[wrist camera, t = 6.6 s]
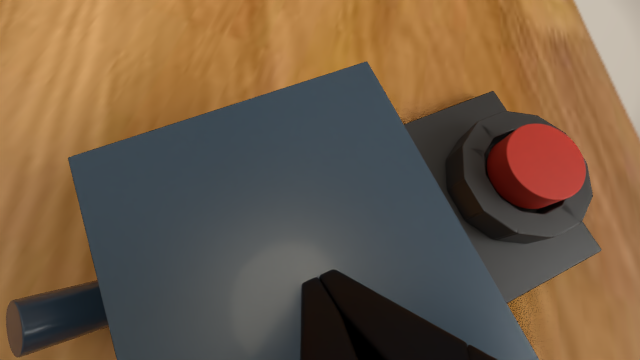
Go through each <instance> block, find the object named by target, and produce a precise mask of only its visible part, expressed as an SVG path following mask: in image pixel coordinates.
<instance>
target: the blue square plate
mask: <svg viewBox="0 0 640 360" xmlns="http://www.w3.org/2000/svg"><path fill="white" fill-rule="evenodd" d="M68 160H69V164H70V168H71V173H72V177H73V181H74V185H75V189H76V193H77V197H78V201H79V205H80V210H81V214H82V218H83V222H84V226H85V230H86V234H87V238H88V243H89V247H90V251H91V255H92V259H93V263H94V267H95V271H96V275H97V280H98V284H99V288H100V292H101V296H102V300H103V304H104V308H105V313H106V317H107V321H108V325H109V329H110V333H111V337H112V341H113V345H114V350H115V354H116V358H117V360H300V339H301V287H302V284H303V283H304V282H306V281H308V280H310V279H312V278H314V277H318V278H319V276H320V275H321V274H323V273H325V272H328V271H330V270H332V269H336V270H338V271H339V272H341V273H343V274H345V275H347V276H348V277H350V278H352V279H354V280H356V281H357V282H359V283H361V284H363V285H365V286H366V287H368V288H370V289H372V290H374V291H375V292H377V293H379V294H381V295H382V296H384V297H386V298H388V299H390V300H391V301H393V302H395V303H397V304H399V305H400V306H402V307H404V308H406V309H408V310H409V311H411V312H413V313H415V314H417V315H418V316H420V317H422V318H424V319H425V320H427V321H429V322H431V323H433V324H434V325H436V326H438V327H440V328H442V329H443V330H445V331H447V332H449V333H451V334H452V335H454V336H456V337H458V338H460V339H461V340H463V341H465V342H466V343H467V347H468V345H472V346H474V347H476V348H478V349H479V350H481V351H483V352H485V353H487V354H488V355H490V356H492V357H494V358H496V359H498V360H539V359H538V357H537V355H536V353H535V352H534V350H533V348H532V346H531V345H530V343H529V341H528V340H527V338H526V336H525V334H524V333H523V331H522V329H521V327H520V326H519V324H518V322H517V320H516V319H515V317H514V315H513V314H512V312H511V310H510V308H509V307H508V305H507V303H506V301H505V300H504V298H503V296H502V294H501V293H500V291H499V289H498V288H497V286H496V284H495V282H494V281H493V279H492V277H491V275H490V274H489V272H488V270H487V268H486V267H485V265H484V263H483V262H482V260H481V258H480V256H479V255H478V253H477V251H476V249H475V248H474V246H473V244H472V242H471V241H470V239H469V237H468V236H467V234H466V232H465V230H464V229H463V227H462V225H461V223H460V222H459V220H458V218H457V216H456V215H455V213H454V211H453V210H452V208H451V206H450V204H449V203H448V201H447V199H446V197H445V196H444V194H443V192H442V190H441V189H440V187H439V185H438V184H437V182H436V180H435V178H434V177H433V175H432V173H431V171H430V170H429V168H428V166H427V164H426V163H425V161H424V159H423V157H422V156H421V154H420V152H419V151H418V149H417V147H416V145H415V144H414V142H413V140H412V138H411V137H410V135H409V133H408V131H407V130H406V128H405V126H404V125H403V123H402V121H401V119H400V118H399V116H398V114H397V112H396V111H395V109H394V107H393V105H392V104H391V102H390V100H389V99H388V97H387V95H386V93H385V92H384V90H383V88H382V86H381V85H380V83H379V81H378V79H377V78H376V76H375V74H374V73H373V71H372V69H371V67H370V66H369V64H368V62H363V63H360V64H357V65H354V66H351V67H348V68H345V69H342V70H339V71H336V72H332V73H329V74H326V75H323V76H320V77H317V78H314V79H311V80H308V81H304V82H301V83H298V84H295V85H292V86H289V87H286V88H283V89H280V90H276V91H273V92H270V93H267V94H264V95H261V96H258V97H255V98H252V99H248V100H245V101H242V102H239V103H236V104H233V105H230V106H227V107H224V108H221V109H217V110H214V111H211V112H208V113H205V114H202V115H199V116H196V117H193V118H189V119H186V120H183V121H180V122H177V123H174V124H171V125H168V126H165V127H161V128H158V129H155V130H152V131H149V132H146V133H143V134H140V135H137V136H134V137H130V138H127V139H124V140H121V141H118V142H115V143H112V144H109V145H106V146H102V147H99V148H96V149H93V150H90V151H87V152H84V153H81V154H78V155H74V156H71V157H69V158H68Z"/></svg>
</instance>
